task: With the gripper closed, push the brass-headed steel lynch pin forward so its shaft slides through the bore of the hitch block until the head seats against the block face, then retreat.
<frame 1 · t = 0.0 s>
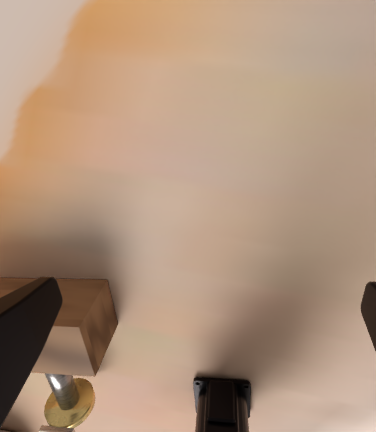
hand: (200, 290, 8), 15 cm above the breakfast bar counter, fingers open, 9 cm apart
hitch block: (59, 301, 30), on the breakfast bar counter
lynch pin: (58, 378, 29), point 4 cm above the breakfast bar counter, slide at 0.0 cm
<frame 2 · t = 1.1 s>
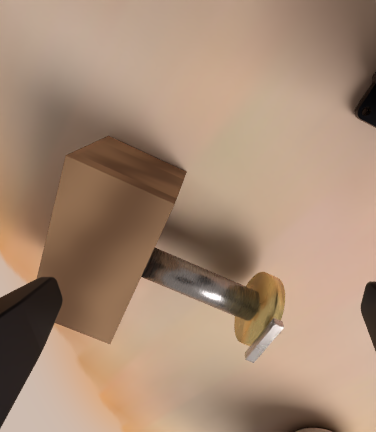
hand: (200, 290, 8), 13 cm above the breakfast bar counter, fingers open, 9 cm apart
hitch block: (122, 221, 22), on the breakfast bar counter
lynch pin: (200, 286, 19), point 4 cm above the breakfast bar counter, slide at 0.0 cm
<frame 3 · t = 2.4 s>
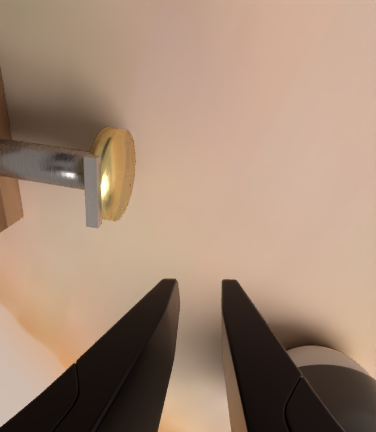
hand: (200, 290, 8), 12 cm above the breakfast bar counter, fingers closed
black egg-shaped device: (306, 364, 26), on the breakfast bar counter
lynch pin: (35, 164, 16), point 4 cm above the breakfast bar counter, slide at 0.0 cm
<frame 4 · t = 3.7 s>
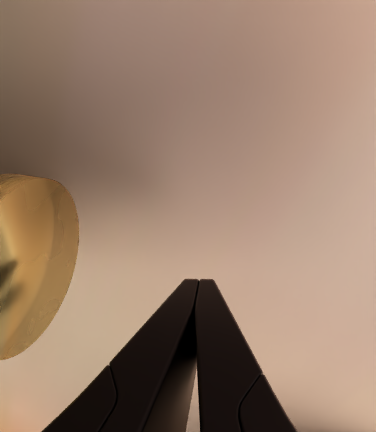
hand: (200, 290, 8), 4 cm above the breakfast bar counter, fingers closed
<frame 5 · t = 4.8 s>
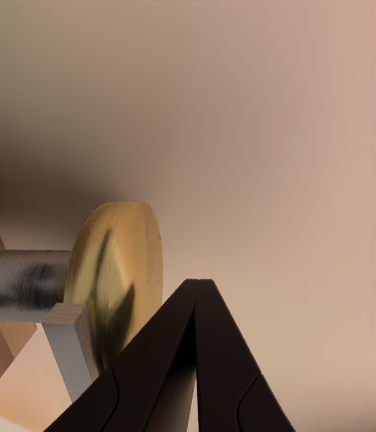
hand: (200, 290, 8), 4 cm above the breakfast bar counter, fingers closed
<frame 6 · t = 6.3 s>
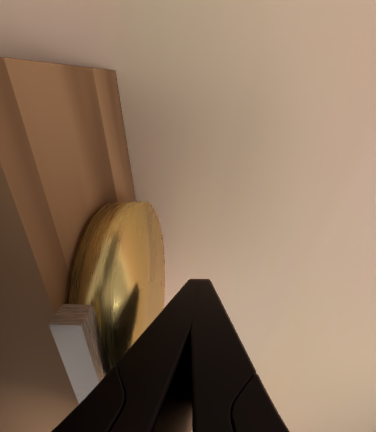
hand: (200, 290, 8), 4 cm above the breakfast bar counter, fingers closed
hitch block: (72, 232, 12), on the breakfast bar counter
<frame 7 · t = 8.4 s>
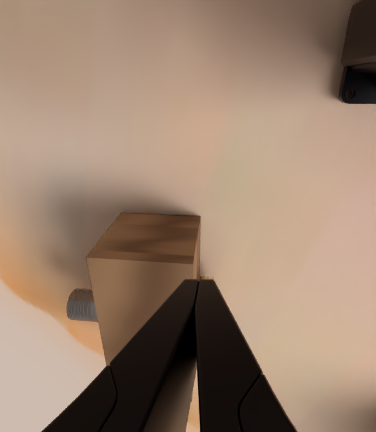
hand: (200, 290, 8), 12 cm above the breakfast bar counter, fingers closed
hitch block: (163, 279, 23), on the breakfast bar counter
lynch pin: (140, 311, 20), point 4 cm above the breakfast bar counter, slide at 8.0 cm
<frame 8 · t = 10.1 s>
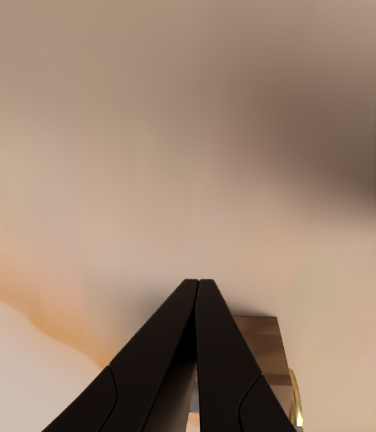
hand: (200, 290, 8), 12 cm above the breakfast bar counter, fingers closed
hitch block: (240, 363, 27), on the breakfast bar counter
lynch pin: (232, 402, 23), point 4 cm above the breakfast bar counter, slide at 8.0 cm
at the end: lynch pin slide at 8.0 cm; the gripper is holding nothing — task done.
